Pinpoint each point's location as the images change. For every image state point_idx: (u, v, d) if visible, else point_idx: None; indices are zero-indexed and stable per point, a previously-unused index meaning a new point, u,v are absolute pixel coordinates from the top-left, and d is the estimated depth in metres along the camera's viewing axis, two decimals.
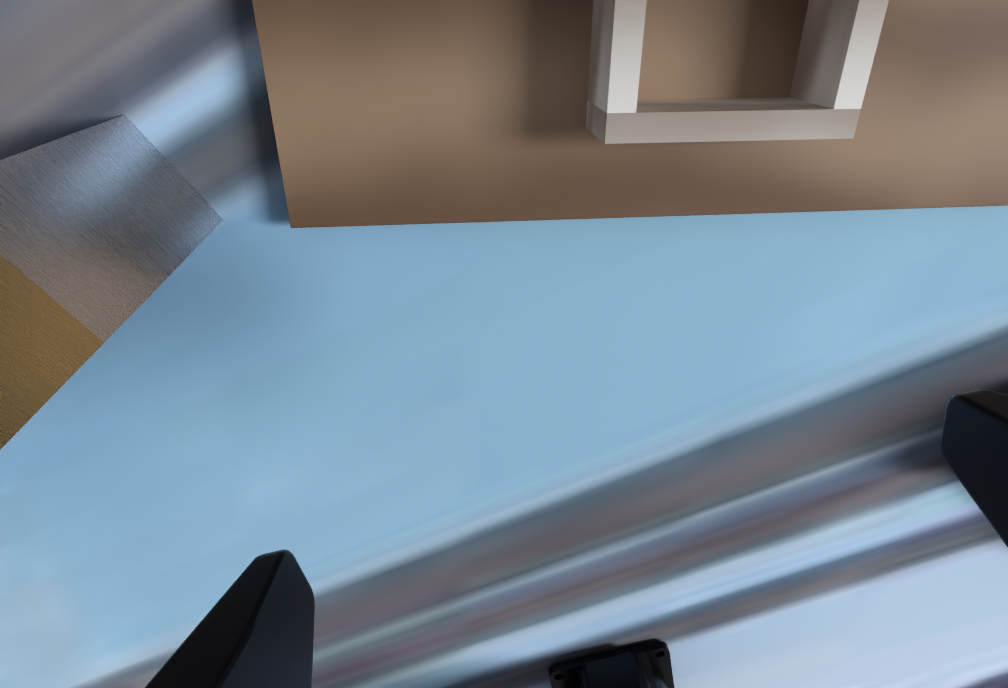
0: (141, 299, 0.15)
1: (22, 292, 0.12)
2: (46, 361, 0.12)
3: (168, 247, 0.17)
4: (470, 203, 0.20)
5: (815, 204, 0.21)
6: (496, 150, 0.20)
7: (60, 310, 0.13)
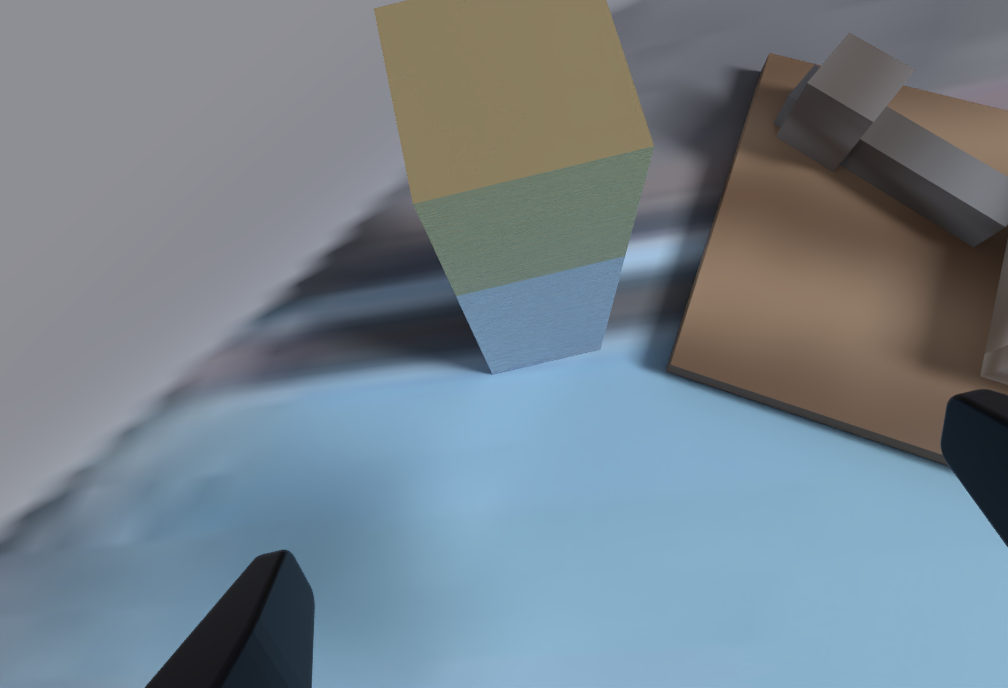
0: None
1: None
2: None
3: None
4: (848, 404, 0.20)
5: None
6: (887, 366, 0.21)
7: None
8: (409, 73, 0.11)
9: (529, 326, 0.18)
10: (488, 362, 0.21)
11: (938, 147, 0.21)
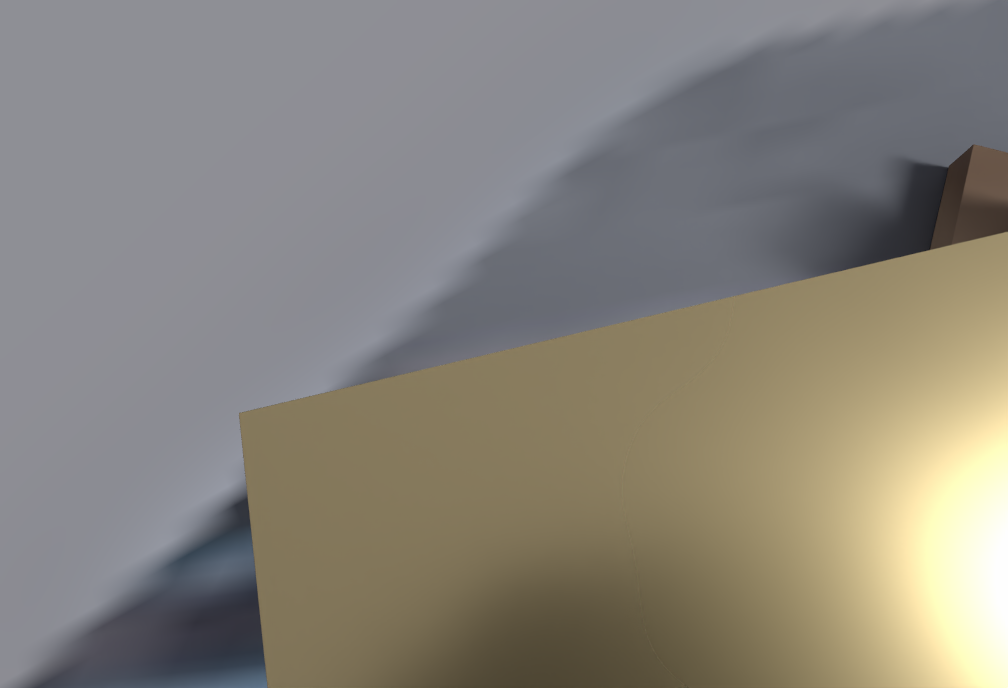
0: None
1: None
2: None
3: None
4: None
5: None
6: None
7: None
8: None
9: None
10: None
11: None
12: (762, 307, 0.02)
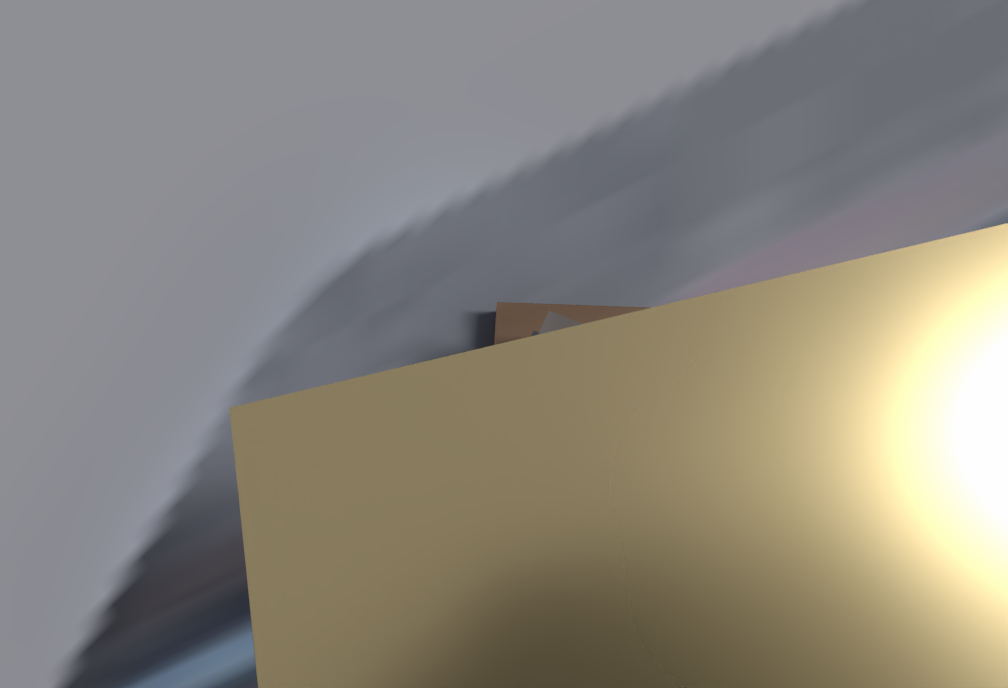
0: None
1: None
2: None
3: None
4: None
5: None
6: None
7: None
8: None
9: None
10: None
11: None
12: (749, 301, 0.02)
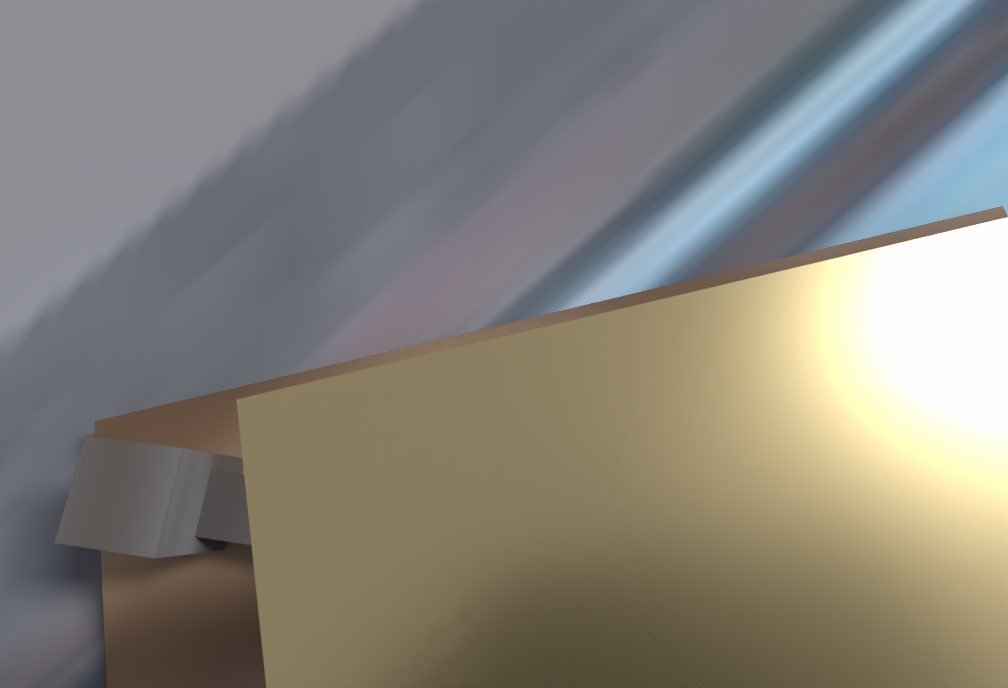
0: None
1: None
2: None
3: None
4: None
5: None
6: None
7: None
8: None
9: None
10: None
11: None
12: (755, 295, 0.02)
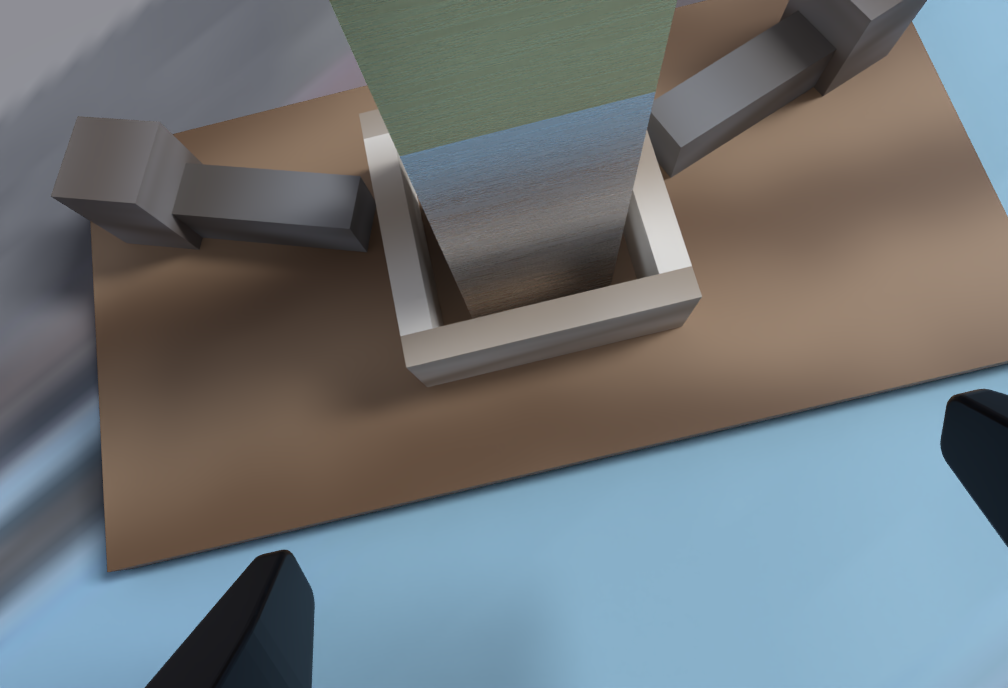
0: (637, 161, 0.11)
1: None
2: None
3: None
4: (311, 499, 0.17)
5: (746, 412, 0.16)
6: (333, 432, 0.17)
7: None
8: None
9: (515, 233, 0.13)
10: (465, 297, 0.16)
11: (253, 179, 0.18)
12: None
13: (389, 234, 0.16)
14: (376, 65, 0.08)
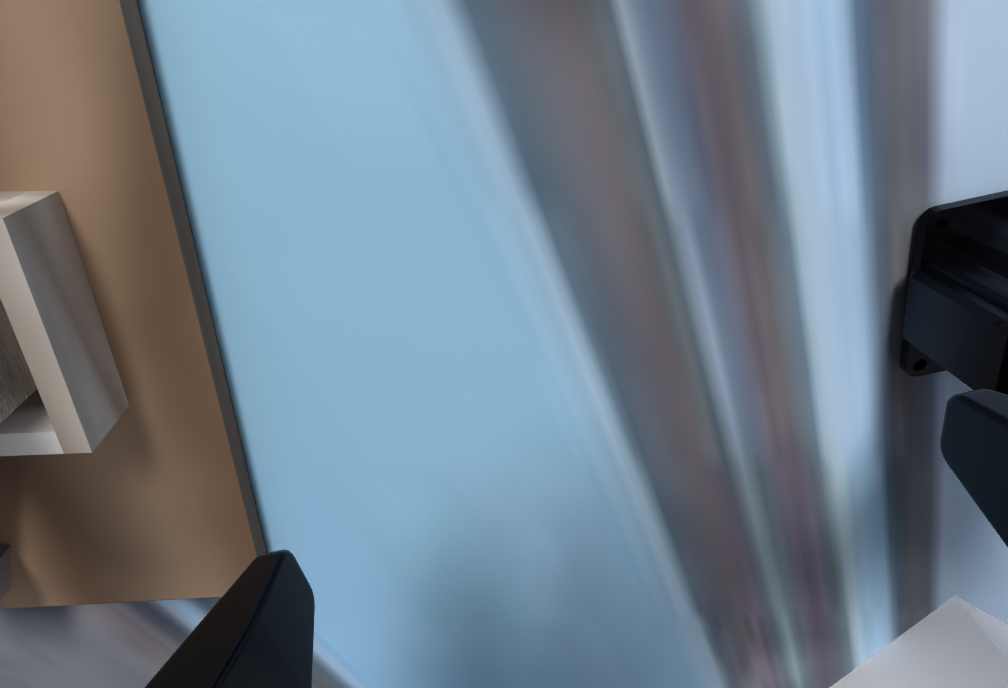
0: None
1: None
2: None
3: None
4: (221, 486, 0.23)
5: (149, 156, 0.17)
6: (169, 469, 0.22)
7: None
8: None
9: None
10: (28, 395, 0.18)
11: None
12: None
13: None
14: None
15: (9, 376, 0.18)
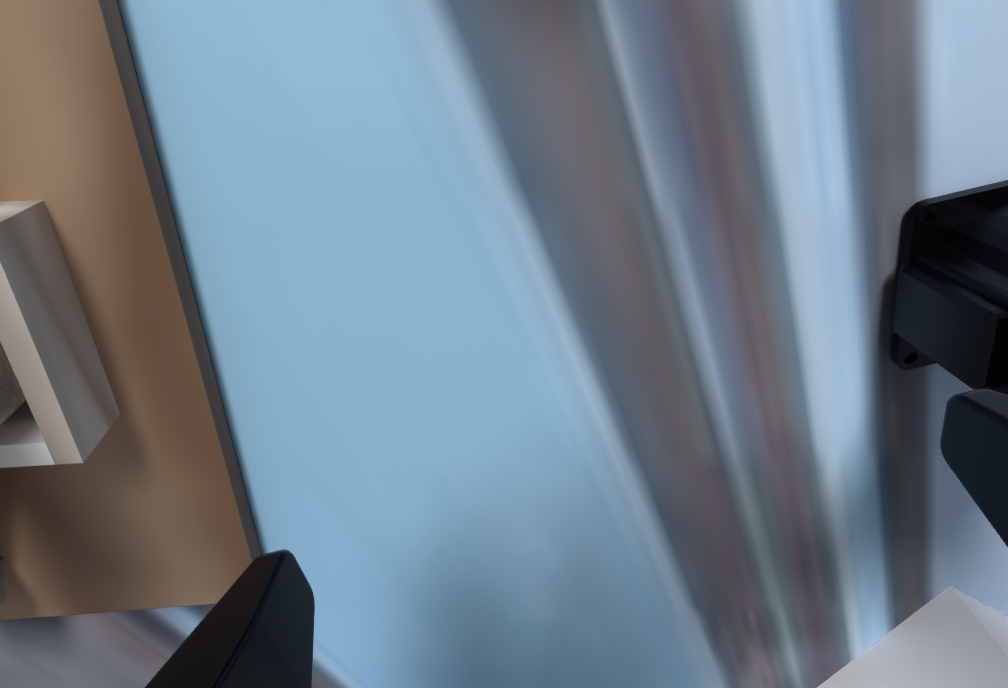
0: None
1: None
2: None
3: None
4: (215, 493, 0.23)
5: (134, 163, 0.17)
6: (162, 478, 0.22)
7: None
8: None
9: None
10: (17, 406, 0.18)
11: None
12: None
13: None
14: None
15: None
